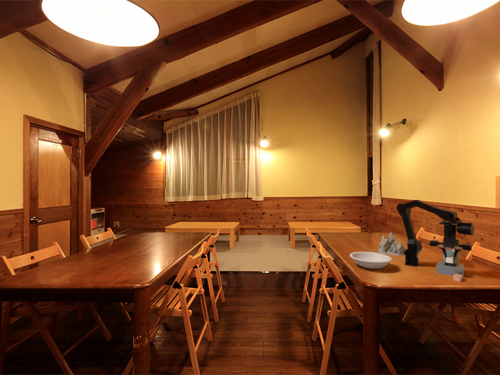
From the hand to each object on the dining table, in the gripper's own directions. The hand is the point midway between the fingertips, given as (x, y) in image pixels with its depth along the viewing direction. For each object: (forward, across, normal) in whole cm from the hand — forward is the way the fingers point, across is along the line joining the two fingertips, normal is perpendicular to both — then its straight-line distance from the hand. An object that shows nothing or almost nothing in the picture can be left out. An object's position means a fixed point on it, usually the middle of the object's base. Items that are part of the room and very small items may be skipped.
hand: (450, 260), depth 146 cm
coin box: (+8, 0, 0) cm, 8 cm away
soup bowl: (+8, -38, -18) cm, 43 cm away
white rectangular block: (+1, 0, 0) cm, 1 cm away
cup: (+8, -1, +16) cm, 17 cm away
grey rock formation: (+8, -37, +27) cm, 47 cm away
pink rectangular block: (+8, +4, -10) cm, 13 cm away
